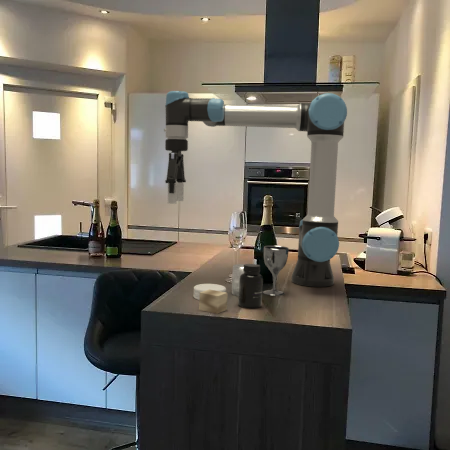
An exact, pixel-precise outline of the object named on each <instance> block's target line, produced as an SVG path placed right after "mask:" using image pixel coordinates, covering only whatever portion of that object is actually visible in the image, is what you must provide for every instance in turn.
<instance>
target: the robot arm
mask: <svg viewBox="0 0 450 450" xmlns="http://www.w3.org/2000/svg"><path fill="white" fill-rule="evenodd" d="M165 96H166V98H165V128H163V132H164V133H165V138H167V139H165V143H164V144H165V146H164V148H165V151H167V152H169V153H168V163H167V172H166V173H167V175H166V179H165V181H164V182H165V184H167V204H174V205H175V204H177V202H184V185H185V183H186V182H187V180H186V177H185V167H184V166H185V165H184V164H185V163H184V153H182V152H187V151H188V150H189V149H188V148H189V146H188V145H189V143H188V142H189V141H188V140H187V139H188V138H189V122H202V123H203V124H205V126H207V127H211V128H213V127H249V128H250V127H253V128H277V129H278V128H279V129H281V128H283V129H296V130H297V131H298V132H307V133H306V136H307V138H308V139H309V141H311V144H310V146H311V147H310V161H309V162H310V163H309V165H310V166H309V181H308V182H309V183H308V201H307V202H308V203H307V215H305V217H303V219H301V220H300V221H299V226H298V247H297V250H298V251H297V262H296V264H295V267H294V269H293V271H292V274H291V282H292V283H294V284H297V285H301V286H306V287H313V288H315V287H317V288H319V287H320V288H321V287H323V288H326V287H332V286H333V285H334V283H335V282H334V281H335V277H334V273H333V269H332V265H331V260H332V259H333V258H334V257H335V256H336V255H337V253H338V251H339V247H340V241H339V240H340V239H339V236H338V235H339V234H338V233H339V220H338V219H337V217H336V216H335V201H336V200H335V199H336V188H337V187H336V185H337V170H338V165H337V164H338V153H339V152H338V150H339V142H340V141H341V140H342V139H343V138H344V133H345V122H346V120H347V116H348V108H347V103H346V102H345V100H344V99H343V98H342V97H341V96H339V95H338V94H335V93H332V92H327V93H322V94H320V95H317V96H316V97H315V98H314V99H312V101H311V102H309V103H303V102H302V103H299V104H298V105H267V104H266V105H263V104H262V105H260V104H259V105H257V104H256V105H255V104H225V100H223V98H215V97H212V98H211V97H210V98H209V97H208V98H205V97H204V98H203V97H202V98H201V97H199V98H197V97H194V98H193V97H190V96H189V92H187V91H181V90H170V91H168V92H167V93H166V95H165Z"/></svg>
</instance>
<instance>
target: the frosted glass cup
mask: <svg viewBox="0 0 450 450" xmlns="http://www.w3.org/2000/svg"><path fill="white" fill-rule="evenodd" d="M243 269H244V264H243V263H238V264H233V265H232V275H231V276H232V279H231V295H232V296H236V297H239V280H240V275H241V274H243V273H244V271H243Z"/></svg>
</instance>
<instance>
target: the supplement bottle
mask: <svg viewBox="0 0 450 450" xmlns="http://www.w3.org/2000/svg"><path fill="white" fill-rule="evenodd" d="M243 271H244V273H243V274H241V275H240V280H239V296H237V297H238V299H237V303H238V306H240V307H241V308H246V309H259V308H260V307H262V304H263V303H262V299H263V286H264V285H263V283H264V278H263V275H262V274H261V273H260V272H261V265H260V264H255V263H245V264H244V269H243Z"/></svg>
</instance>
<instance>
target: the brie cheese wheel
mask: <svg viewBox="0 0 450 450" xmlns="http://www.w3.org/2000/svg"><path fill="white" fill-rule="evenodd" d="M209 289H210V290H215V291H221V292H227V288H226V286H224V285H221V284H216V283H201V284H196V285H195V286H193V294H192V296H193V299H196V300H198V301H199V298H200V292H203V291H206V290H209Z"/></svg>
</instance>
